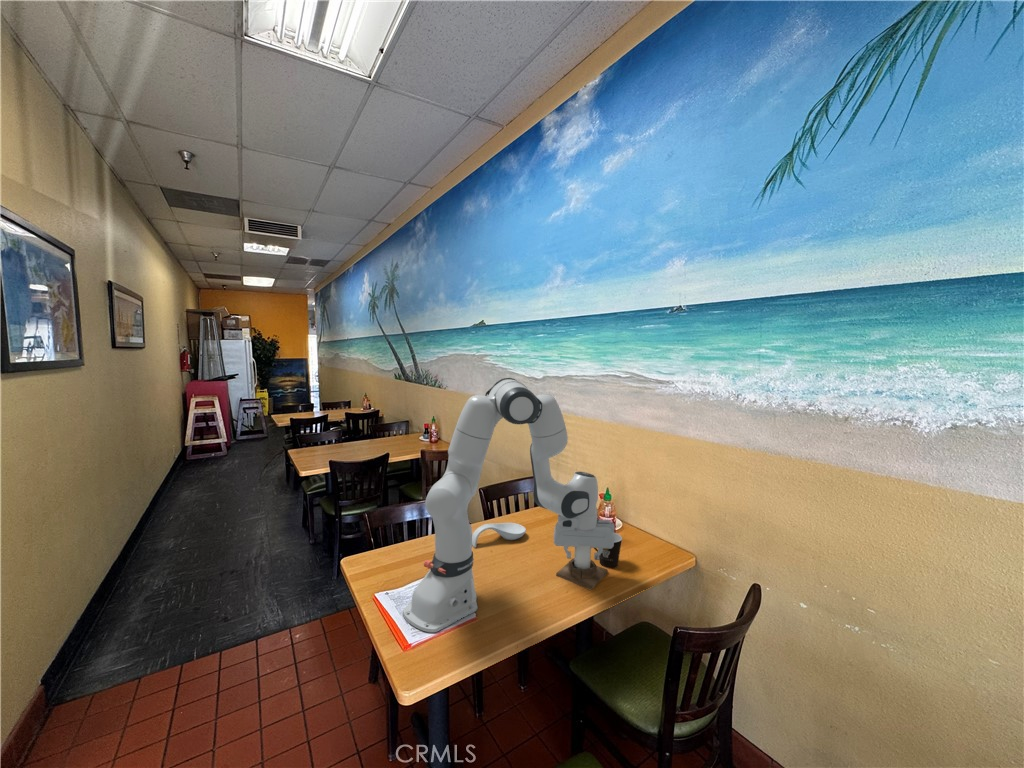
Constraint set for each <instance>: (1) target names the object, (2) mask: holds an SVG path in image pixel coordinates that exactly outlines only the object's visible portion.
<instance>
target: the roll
mask: <svg viewBox="0 0 1024 768" xmlns="http://www.w3.org/2000/svg"><path fill="white" fill-rule="evenodd" d="M591 552H592V548H590V546H582V545H577V547H574V557H573V558H574V567H575V568H577V569H580V570H590V560H592V558H591V554H592V553H591Z"/></svg>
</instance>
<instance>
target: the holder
mask: <svg viewBox="0 0 1024 768" xmlns="http://www.w3.org/2000/svg"><path fill="white" fill-rule="evenodd" d="M574 558H575V557H572V558H571V559H570V560H569V561H568V562H567V564H565V565H563V567H562V568H560V569H559V570H558V571H557V572H556V575H555V576H556V577H558V578H561V579H563V580H565V581H567V582H570V583H573V584H576V585H578V586H581V587H583V588H586V589H587V590H590V591H593V589H594V588H595V587H596V586H597V585H598V584H599V583H600V581H602V579H603V578H604V577H605V576H606V575H607V574H608V573H609V572H608V571H609V569H608V568H605V567H603V566H602V567H601V566H598V565H597V564H596V562H595V561H594V560H593V559H590V570H580V569H577V568H575V567H574Z"/></svg>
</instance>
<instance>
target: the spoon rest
mask: <svg viewBox="0 0 1024 768" xmlns="http://www.w3.org/2000/svg"><path fill="white" fill-rule="evenodd" d="M487 530H492V531H494V532H496V533H497V534H498V535H500V536H501V537H502V538H503V539H504V540H506V541H507V540H508V541H515V540H518V539H520V538H521V537H523V536H524V535H525V534H526V532H527V529H526V527H525V526H523V525H521V524H520V523H515V522H500V523H497V522H496V523H493V522H491V523H484V524H482V525H480V526H478V527H477V528H476V529H475V530H474V531H473V532H472V548H475V549H476V548H477V544H478V538H479V536H480V535H481V534H482V533H483V532H485V531H487Z"/></svg>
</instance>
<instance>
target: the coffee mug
mask: <svg viewBox="0 0 1024 768" xmlns="http://www.w3.org/2000/svg"><path fill="white" fill-rule="evenodd" d="M613 539H614V546H613V547H612V548H611V549H606V548H603V552H602V553H601V554H600V556H599V560H598V561H599V564H600V565H601V566H602V567H603V568H605V569H616V568H617V567H618V566H619V558H620V553H621V546H622V541H623V536H621V535H620V534H619V533H616V532H615V531H614V532H613ZM593 550H595V551H596V552H597V551H598V548H593Z"/></svg>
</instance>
